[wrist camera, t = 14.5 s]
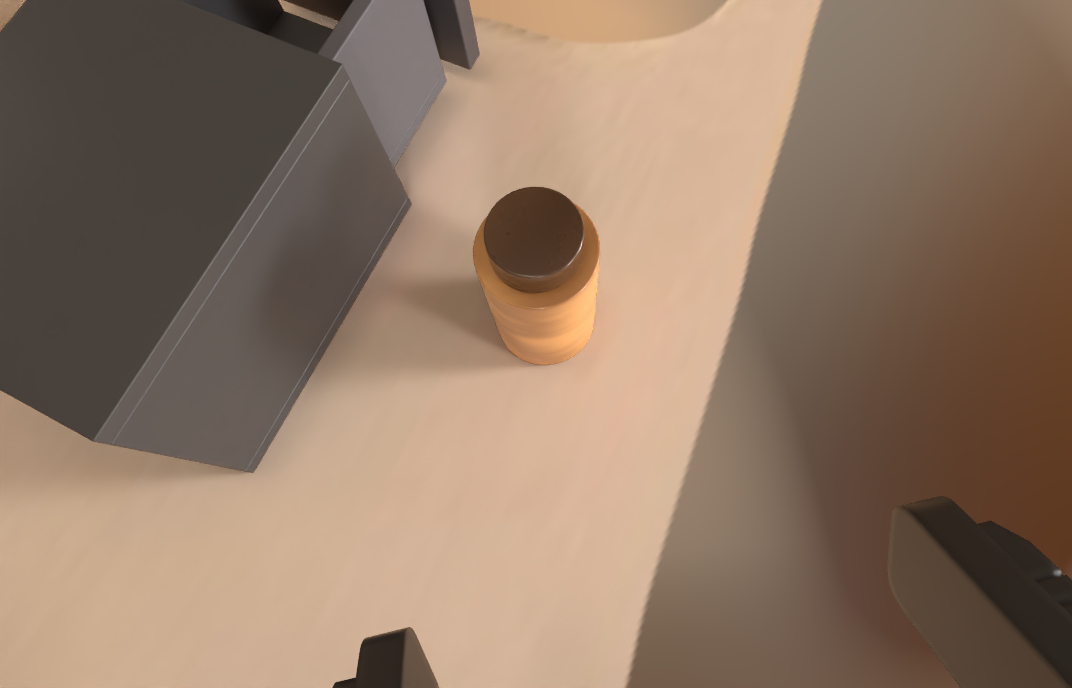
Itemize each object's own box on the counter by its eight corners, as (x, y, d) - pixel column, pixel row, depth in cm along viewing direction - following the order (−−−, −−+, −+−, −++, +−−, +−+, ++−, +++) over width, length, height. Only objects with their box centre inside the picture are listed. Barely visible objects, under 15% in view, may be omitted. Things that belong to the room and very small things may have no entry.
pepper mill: (480, 340, 32) (442, 262, 23) (523, 259, 33) (503, 152, 24) (569, 381, 31) (566, 316, 22) (610, 296, 32) (623, 200, 23)
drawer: (338, -78, 39) (273, -248, 31) (521, -16, 37) (506, -180, 28) (151, 186, 34) (13, 72, 26) (347, 275, 32) (266, 182, 24)
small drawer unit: (205, 116, 37) (62, -45, 26) (412, 204, 34) (343, 63, 24) (35, 356, 33) (-206, 276, 23) (253, 473, 30) (93, 441, 20)
